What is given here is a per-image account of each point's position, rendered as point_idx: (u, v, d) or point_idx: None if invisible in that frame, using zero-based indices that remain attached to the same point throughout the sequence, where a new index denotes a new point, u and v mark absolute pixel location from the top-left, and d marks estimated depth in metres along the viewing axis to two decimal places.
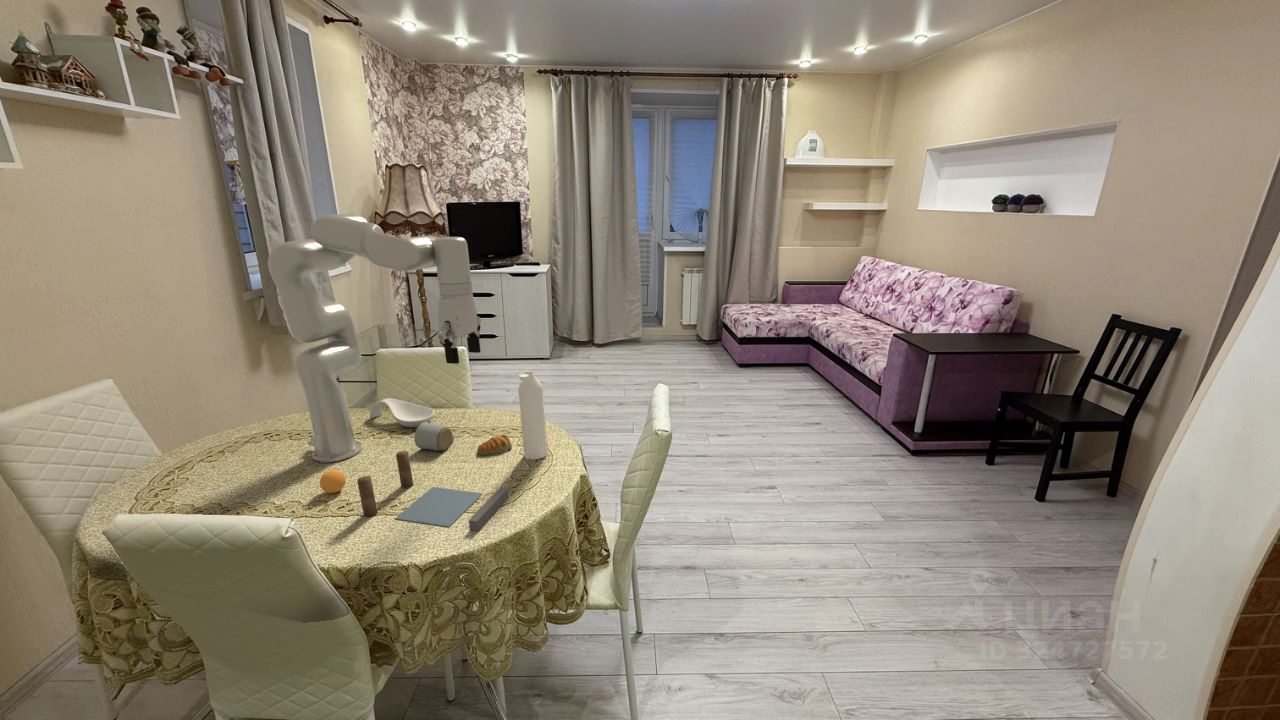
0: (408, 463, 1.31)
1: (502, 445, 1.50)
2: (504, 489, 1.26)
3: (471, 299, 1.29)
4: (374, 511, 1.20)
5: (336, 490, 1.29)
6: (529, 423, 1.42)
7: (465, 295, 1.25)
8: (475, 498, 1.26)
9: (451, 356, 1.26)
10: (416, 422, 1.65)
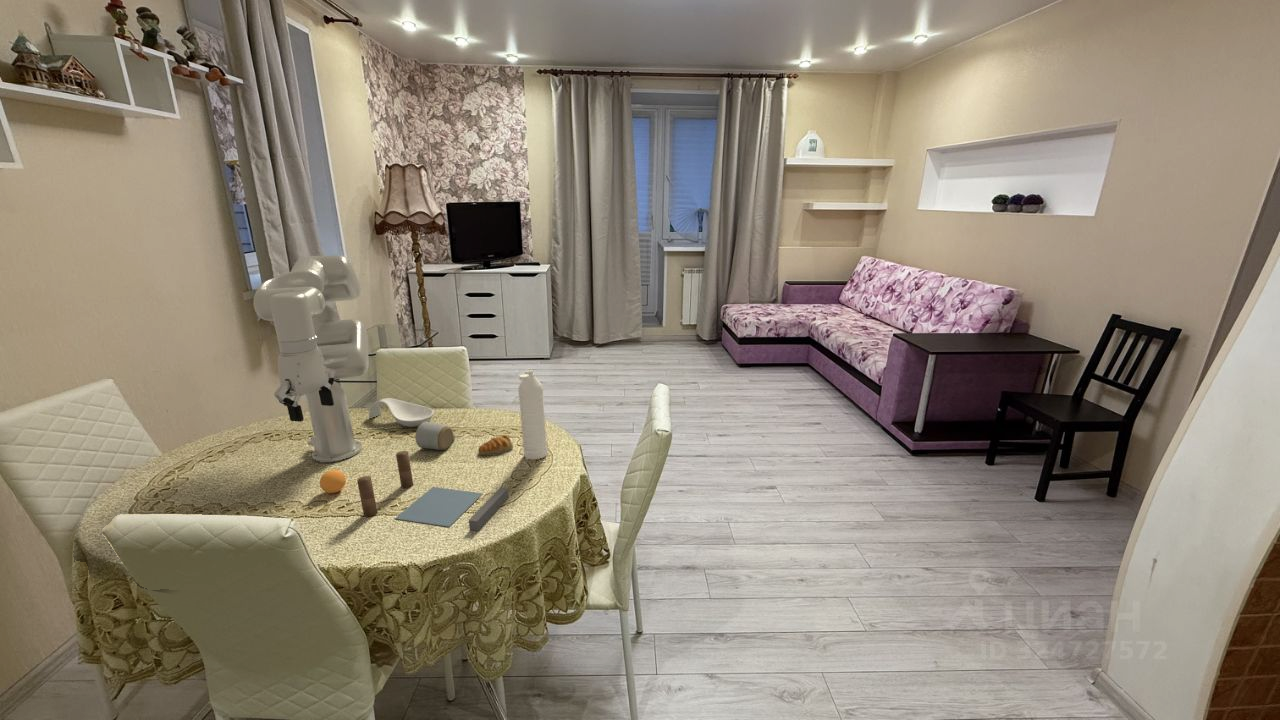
0: (408, 463, 1.31)
1: (504, 446, 1.50)
2: (504, 489, 1.26)
3: (317, 354, 1.26)
4: (374, 511, 1.20)
5: (336, 490, 1.29)
6: (529, 423, 1.42)
7: (306, 352, 1.22)
8: (475, 498, 1.26)
9: (293, 414, 1.22)
10: (416, 422, 1.66)
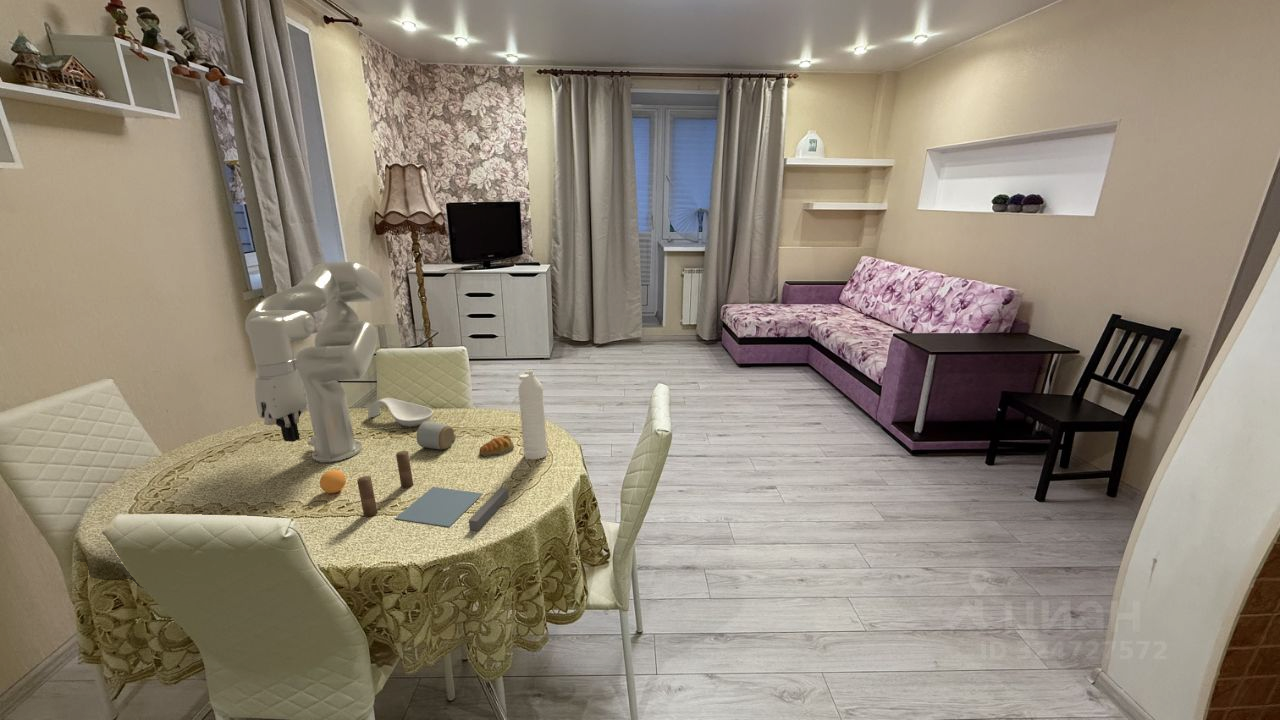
0: (408, 463, 1.31)
1: (505, 446, 1.50)
2: (504, 489, 1.26)
3: (295, 377, 1.27)
4: (374, 511, 1.20)
5: (336, 490, 1.29)
6: (529, 423, 1.42)
7: (283, 375, 1.22)
8: (475, 498, 1.26)
9: (286, 435, 1.27)
10: (415, 421, 1.66)
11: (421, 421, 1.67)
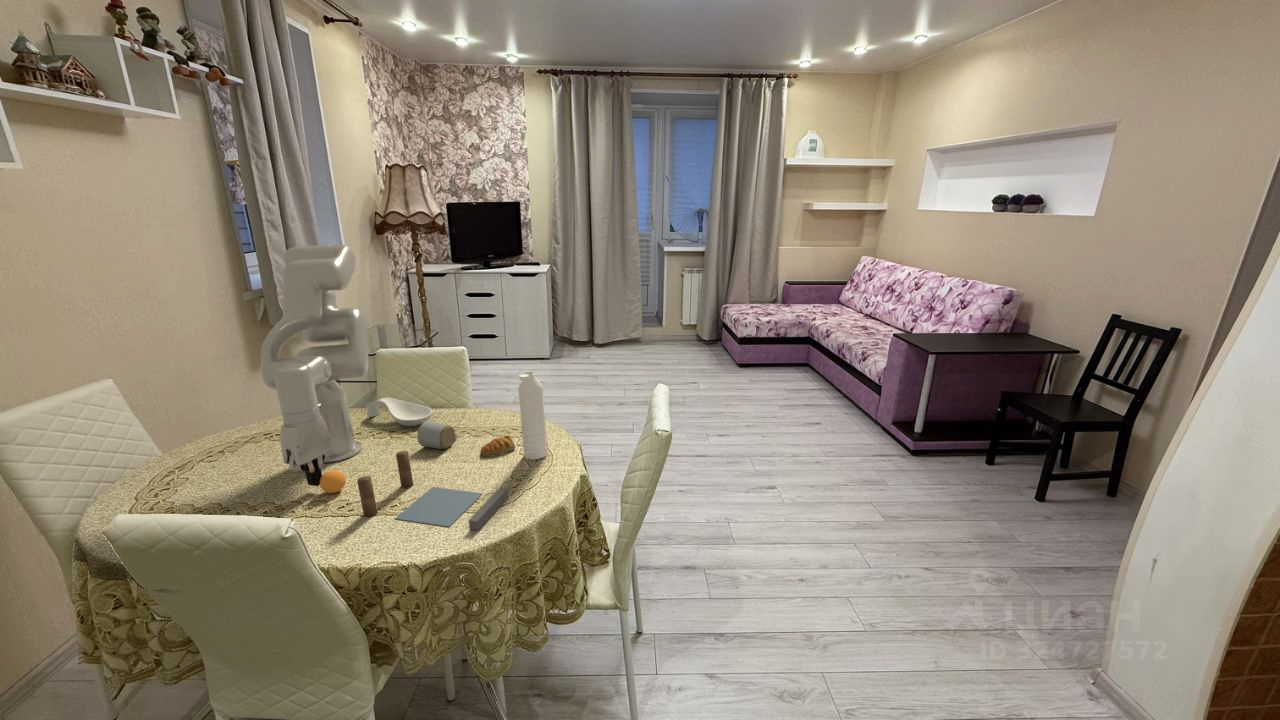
0: (408, 463, 1.31)
1: (506, 446, 1.49)
2: (504, 489, 1.26)
3: (320, 423, 1.28)
4: (374, 511, 1.20)
5: (336, 490, 1.29)
6: (529, 423, 1.42)
7: (307, 423, 1.24)
8: (475, 498, 1.26)
9: (310, 479, 1.29)
10: (414, 421, 1.66)
11: (421, 421, 1.68)
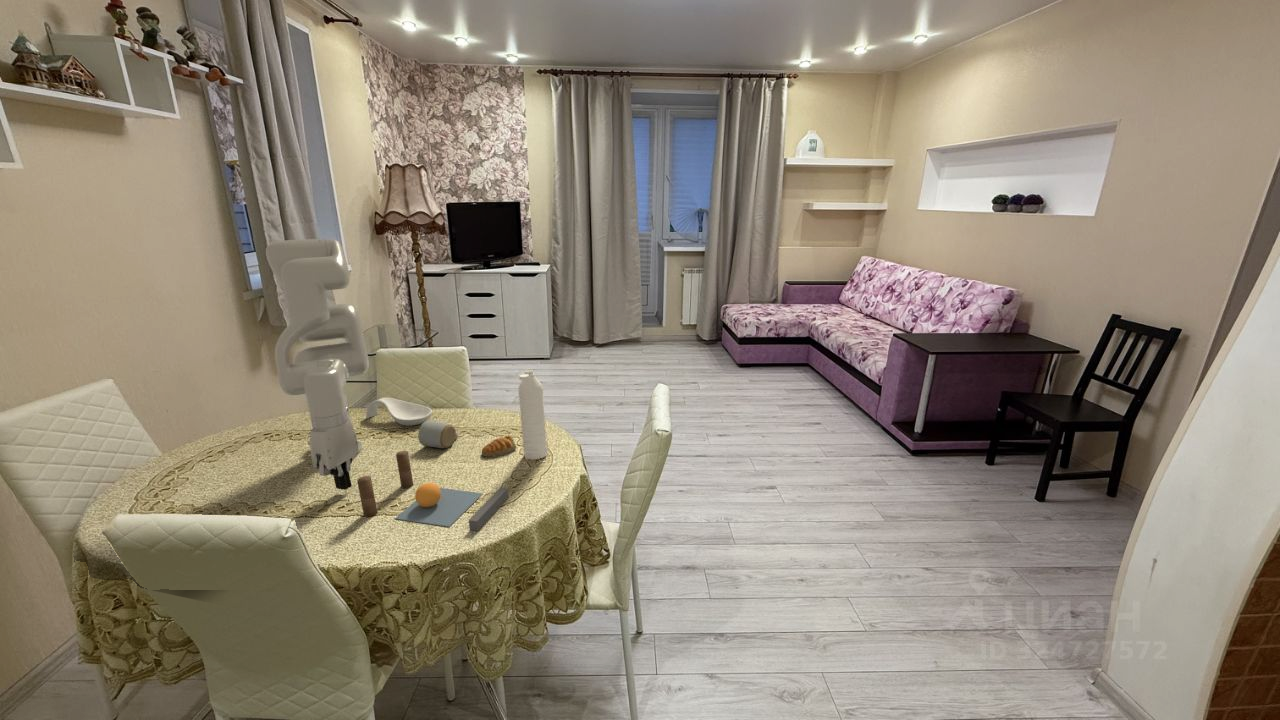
0: (408, 463, 1.31)
1: (507, 447, 1.49)
2: (504, 489, 1.26)
3: (348, 426, 1.27)
4: (374, 511, 1.20)
5: (417, 490, 1.22)
6: (529, 423, 1.42)
7: (337, 427, 1.23)
8: (475, 498, 1.26)
9: (339, 483, 1.28)
10: (414, 420, 1.67)
11: (420, 420, 1.68)
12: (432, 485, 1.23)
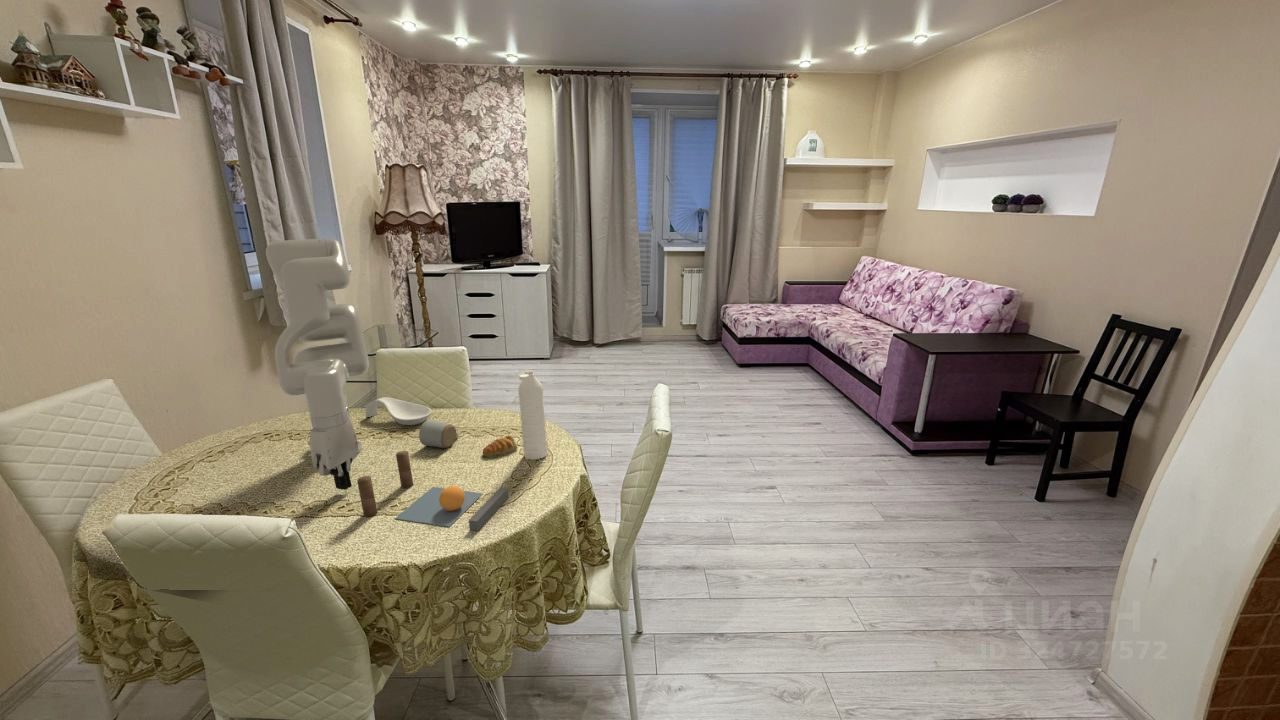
0: (408, 463, 1.31)
1: (508, 447, 1.49)
2: (504, 489, 1.26)
3: (348, 426, 1.27)
4: (374, 511, 1.20)
5: (458, 501, 1.20)
6: (529, 423, 1.42)
7: (337, 427, 1.23)
8: (475, 498, 1.26)
9: (339, 483, 1.28)
10: (414, 420, 1.67)
11: (420, 420, 1.68)
12: None
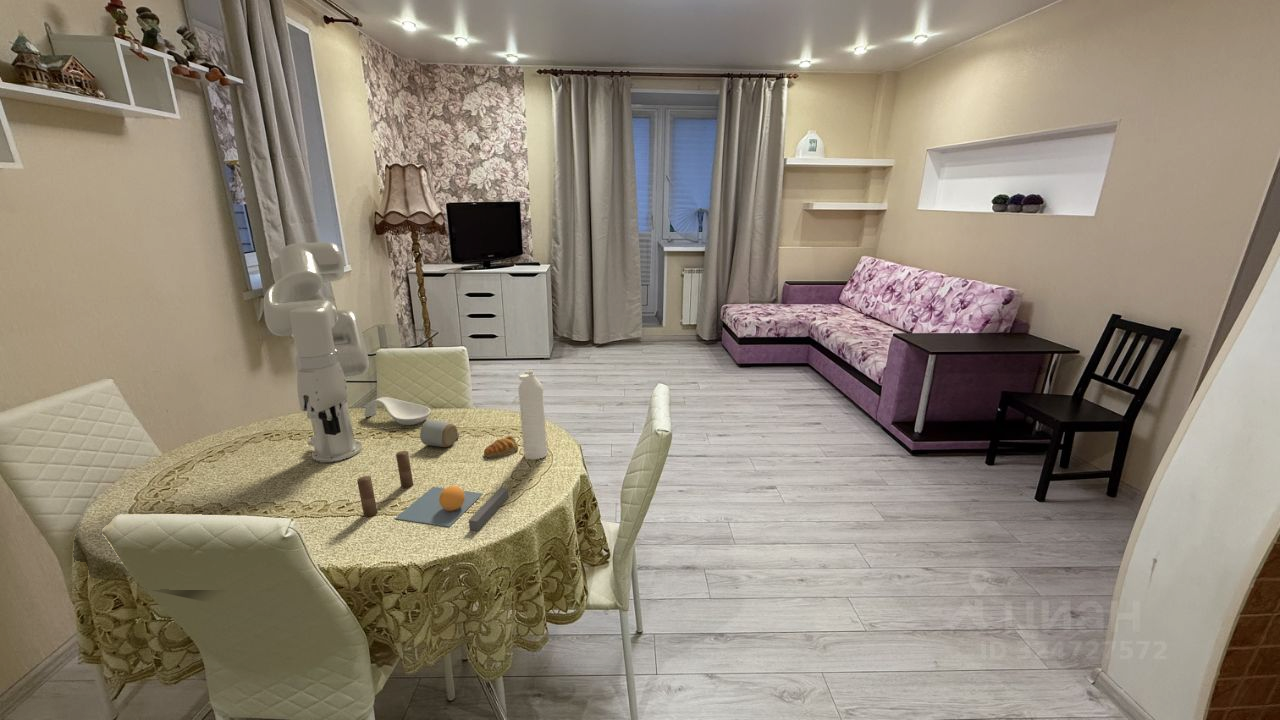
0: (408, 463, 1.31)
1: (510, 447, 1.49)
2: (504, 489, 1.26)
3: (337, 369, 1.23)
4: (374, 511, 1.20)
5: (458, 501, 1.20)
6: (529, 423, 1.42)
7: (325, 368, 1.19)
8: (475, 498, 1.26)
9: (328, 428, 1.24)
10: (413, 420, 1.67)
11: (419, 419, 1.68)
12: None
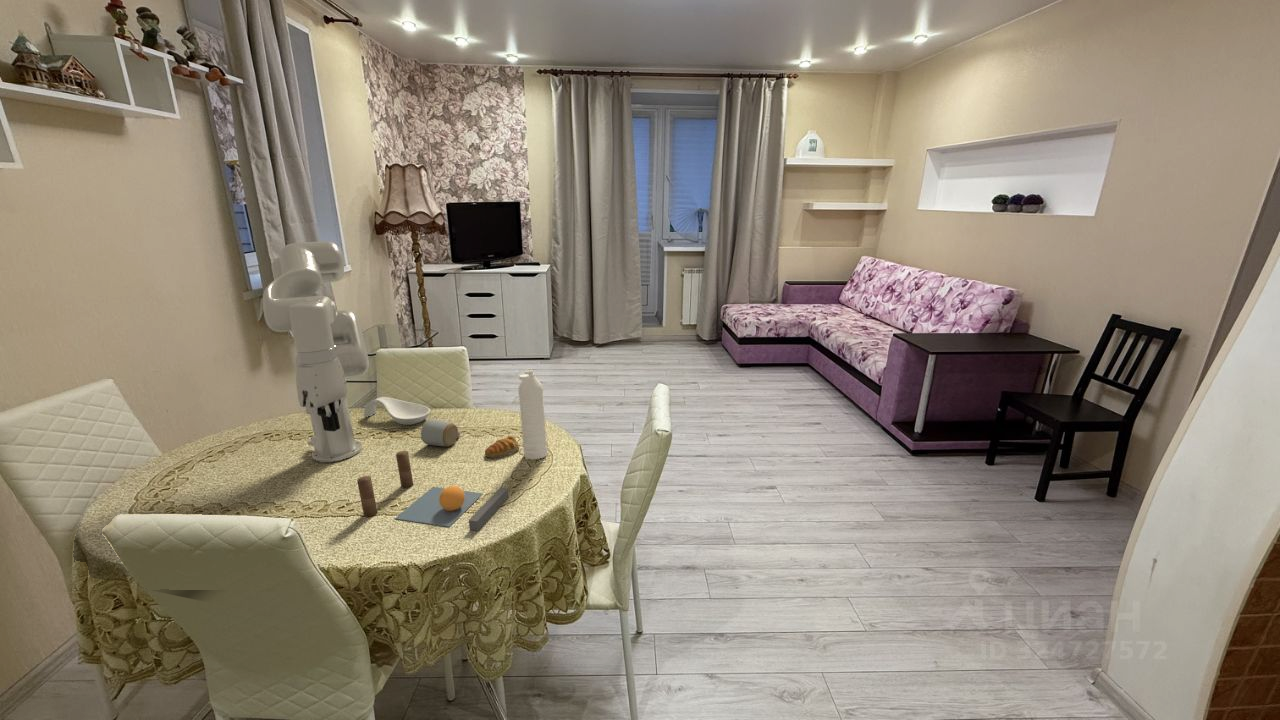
0: (408, 463, 1.31)
1: (511, 447, 1.49)
2: (504, 489, 1.26)
3: (336, 364, 1.23)
4: (374, 511, 1.20)
5: (458, 501, 1.20)
6: (529, 423, 1.42)
7: (324, 363, 1.18)
8: (475, 498, 1.26)
9: (327, 424, 1.23)
10: (413, 419, 1.67)
11: (419, 419, 1.69)
12: None
